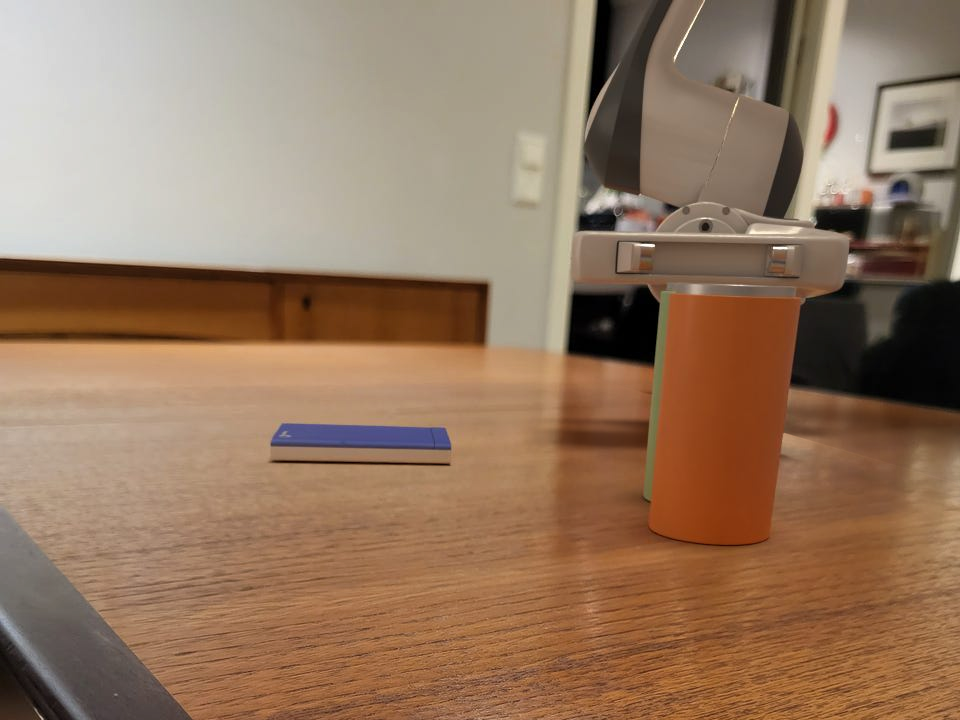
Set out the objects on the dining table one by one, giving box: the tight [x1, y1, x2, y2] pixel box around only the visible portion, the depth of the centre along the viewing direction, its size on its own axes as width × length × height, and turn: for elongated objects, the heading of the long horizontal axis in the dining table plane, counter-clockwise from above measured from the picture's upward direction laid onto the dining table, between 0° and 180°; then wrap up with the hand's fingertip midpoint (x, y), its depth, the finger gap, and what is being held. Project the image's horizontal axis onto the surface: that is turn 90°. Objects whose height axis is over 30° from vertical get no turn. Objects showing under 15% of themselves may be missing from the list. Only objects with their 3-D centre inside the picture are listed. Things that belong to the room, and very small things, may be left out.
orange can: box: [648, 283, 802, 546], centre depth 52 cm, size 6×6×12 cm
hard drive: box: [269, 422, 452, 465], centre depth 73 cm, size 2×8×12 cm
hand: (712, 258), depth 69 cm, fingers open, 8 cm apart
